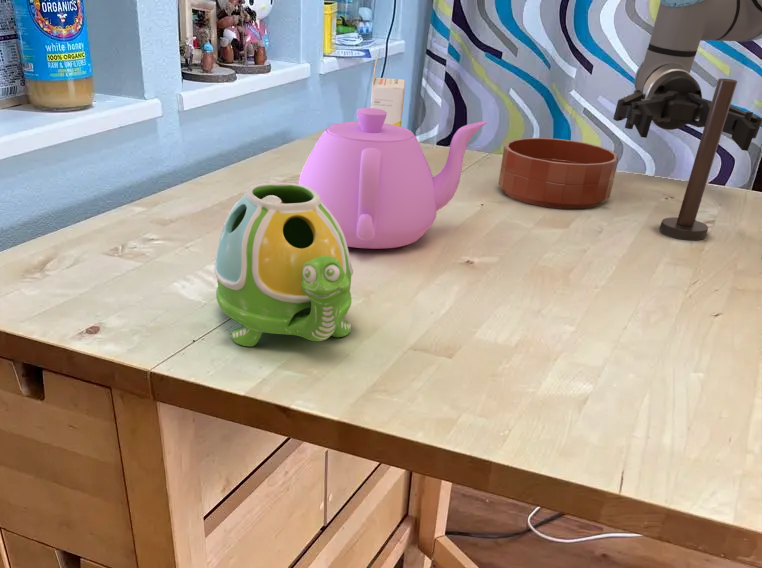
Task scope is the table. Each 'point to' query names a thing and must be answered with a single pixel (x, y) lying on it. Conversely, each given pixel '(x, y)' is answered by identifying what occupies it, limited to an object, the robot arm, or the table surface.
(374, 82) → the ink cartridge box
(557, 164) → the bowl
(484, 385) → the table surface
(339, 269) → the turtle holder
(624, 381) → the table surface
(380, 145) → the teapot
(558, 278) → the table surface
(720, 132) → the peg on round base
